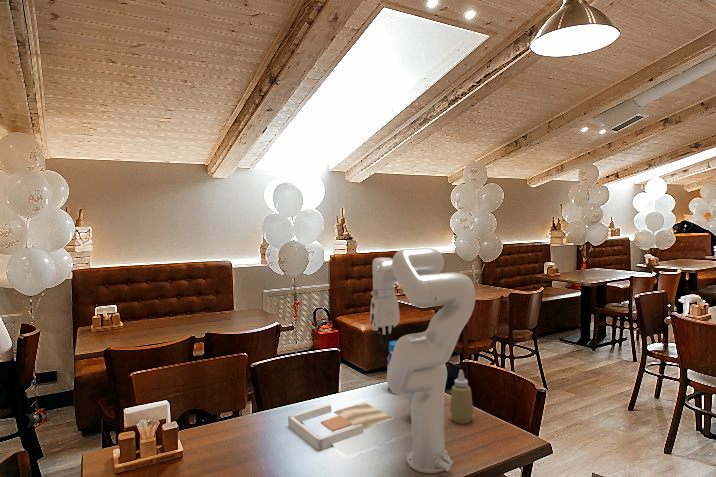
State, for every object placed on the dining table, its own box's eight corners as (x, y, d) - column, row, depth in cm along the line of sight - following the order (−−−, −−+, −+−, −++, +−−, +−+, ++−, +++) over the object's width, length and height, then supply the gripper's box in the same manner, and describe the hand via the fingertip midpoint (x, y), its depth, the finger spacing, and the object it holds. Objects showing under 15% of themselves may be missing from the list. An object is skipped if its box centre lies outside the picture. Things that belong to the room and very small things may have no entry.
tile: (352, 429, 164) (352, 423, 164) (332, 435, 159) (332, 430, 159) (340, 420, 170) (340, 415, 170) (320, 427, 166) (320, 421, 166)
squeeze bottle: (475, 425, 163) (475, 374, 162) (452, 426, 163) (451, 374, 162) (470, 415, 171) (470, 366, 170) (448, 415, 171) (447, 366, 170)
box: (363, 435, 158) (363, 425, 158) (319, 451, 149) (319, 440, 148) (329, 413, 176) (329, 404, 175) (288, 426, 166) (288, 416, 166)
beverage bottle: (411, 388, 197) (410, 341, 196) (402, 396, 190) (401, 346, 189) (393, 385, 202) (392, 338, 200) (384, 392, 194) (382, 344, 193)
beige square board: (394, 421, 168) (394, 418, 168) (361, 432, 160) (361, 430, 160) (364, 404, 183) (364, 402, 182) (333, 414, 175) (333, 411, 174)
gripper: (373, 297, 159) (374, 351, 161) (407, 291, 168) (408, 342, 169) (360, 294, 166) (361, 346, 167) (393, 289, 174) (394, 338, 175)
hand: (385, 344), depth 168 cm, fingers closed
